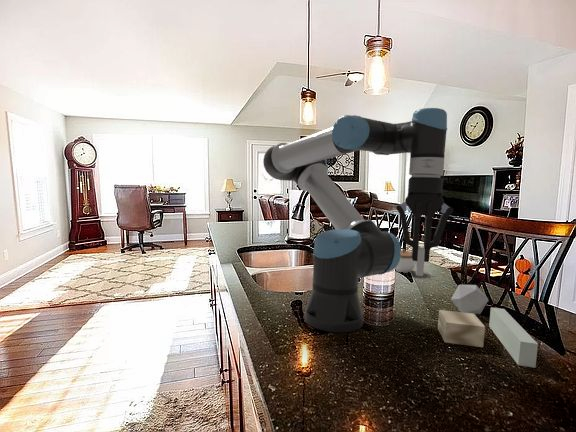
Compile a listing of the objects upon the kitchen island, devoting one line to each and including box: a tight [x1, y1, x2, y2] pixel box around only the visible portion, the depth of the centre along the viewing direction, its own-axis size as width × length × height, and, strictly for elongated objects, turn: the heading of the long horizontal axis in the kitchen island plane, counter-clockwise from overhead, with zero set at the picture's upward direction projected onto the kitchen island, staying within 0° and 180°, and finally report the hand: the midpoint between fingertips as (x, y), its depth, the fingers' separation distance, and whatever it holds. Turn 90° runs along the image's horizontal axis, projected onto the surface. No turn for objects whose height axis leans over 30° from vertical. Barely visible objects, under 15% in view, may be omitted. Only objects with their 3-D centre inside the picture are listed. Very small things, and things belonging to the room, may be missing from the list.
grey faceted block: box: [450, 284, 489, 315], centre depth 96 cm, size 8×9×10 cm
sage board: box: [488, 307, 539, 368], centre depth 76 cm, size 3×20×5 cm, turn 163°
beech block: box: [437, 309, 486, 348], centre depth 79 cm, size 8×8×5 cm
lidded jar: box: [394, 248, 416, 274], centre depth 141 cm, size 11×11×9 cm
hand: (419, 274), depth 81 cm, fingers closed
